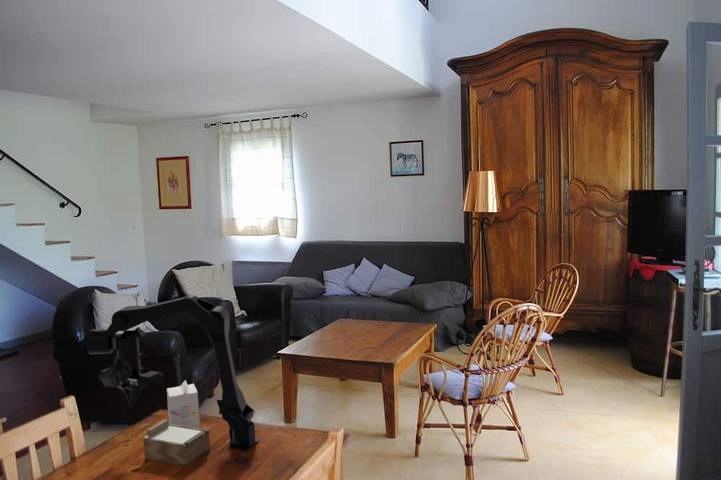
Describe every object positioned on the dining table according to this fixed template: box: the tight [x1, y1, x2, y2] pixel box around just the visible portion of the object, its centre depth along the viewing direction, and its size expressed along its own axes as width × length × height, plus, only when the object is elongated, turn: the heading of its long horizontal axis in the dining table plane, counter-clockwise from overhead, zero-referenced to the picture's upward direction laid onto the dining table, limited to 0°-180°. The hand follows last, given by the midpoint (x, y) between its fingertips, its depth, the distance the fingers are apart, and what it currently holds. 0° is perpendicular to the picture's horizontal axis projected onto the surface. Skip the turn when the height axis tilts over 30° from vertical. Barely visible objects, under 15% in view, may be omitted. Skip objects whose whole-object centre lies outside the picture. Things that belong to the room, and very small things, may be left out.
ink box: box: [166, 380, 201, 429], centre depth 179 cm, size 9×8×13 cm
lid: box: [144, 419, 202, 445], centre depth 161 cm, size 13×8×3 cm, turn 67°
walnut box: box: [142, 424, 211, 468], centre depth 161 cm, size 14×10×6 cm
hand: (132, 406), depth 164 cm, fingers closed
